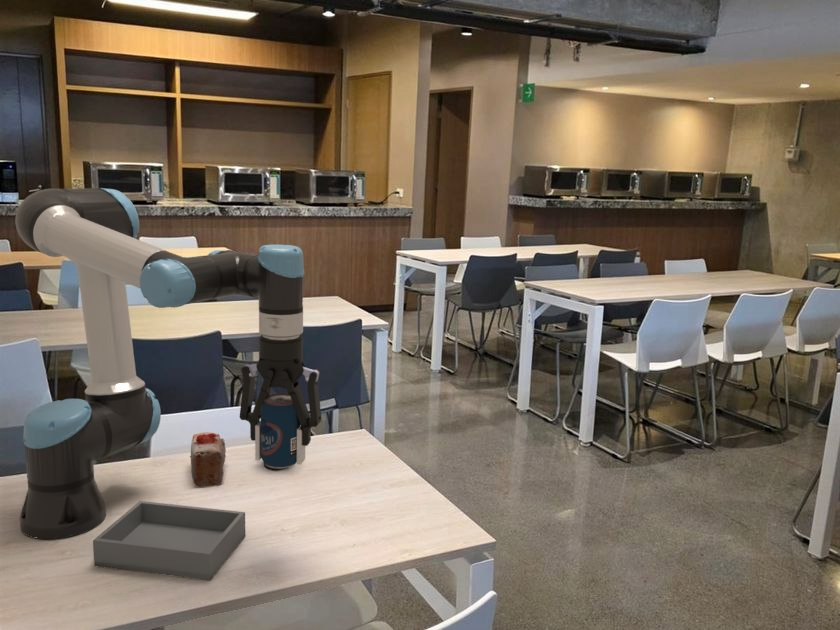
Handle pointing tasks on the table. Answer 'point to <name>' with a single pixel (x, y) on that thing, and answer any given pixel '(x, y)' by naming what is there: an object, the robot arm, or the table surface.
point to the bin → (170, 540)
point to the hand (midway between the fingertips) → (280, 459)
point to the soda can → (279, 431)
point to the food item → (207, 459)
